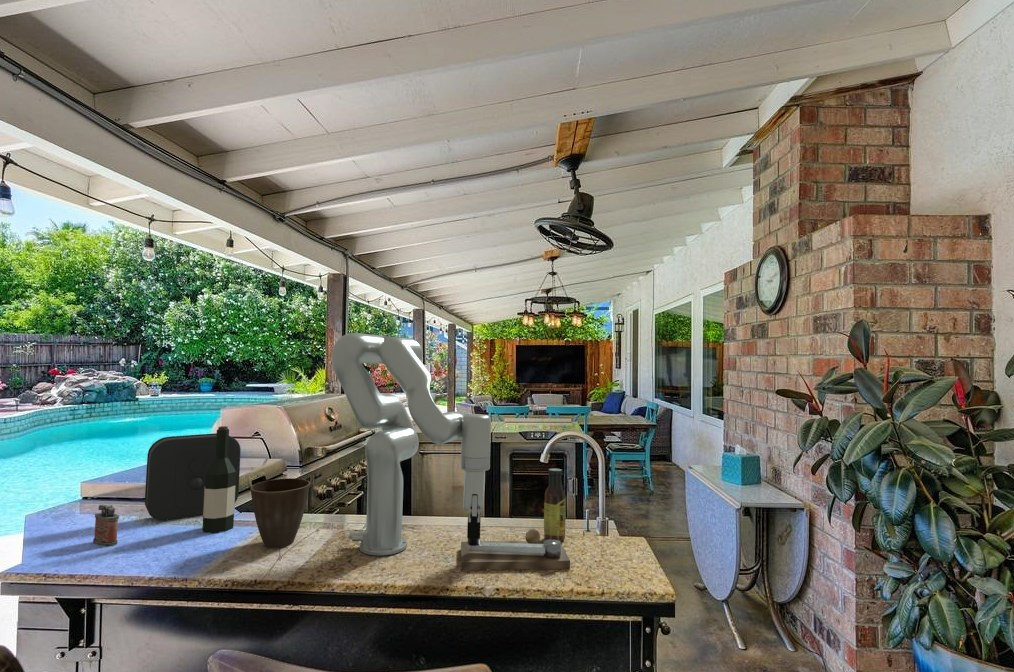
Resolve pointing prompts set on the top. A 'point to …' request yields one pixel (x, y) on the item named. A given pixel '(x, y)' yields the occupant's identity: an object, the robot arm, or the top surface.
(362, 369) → the robot arm
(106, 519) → the lighter
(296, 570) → the top surface
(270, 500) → the plant pot
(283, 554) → the top surface
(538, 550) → the lever
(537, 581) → the top surface
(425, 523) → the top surface
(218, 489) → the wine bottle
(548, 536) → the sauce bottle
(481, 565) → the board
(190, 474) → the speaker
